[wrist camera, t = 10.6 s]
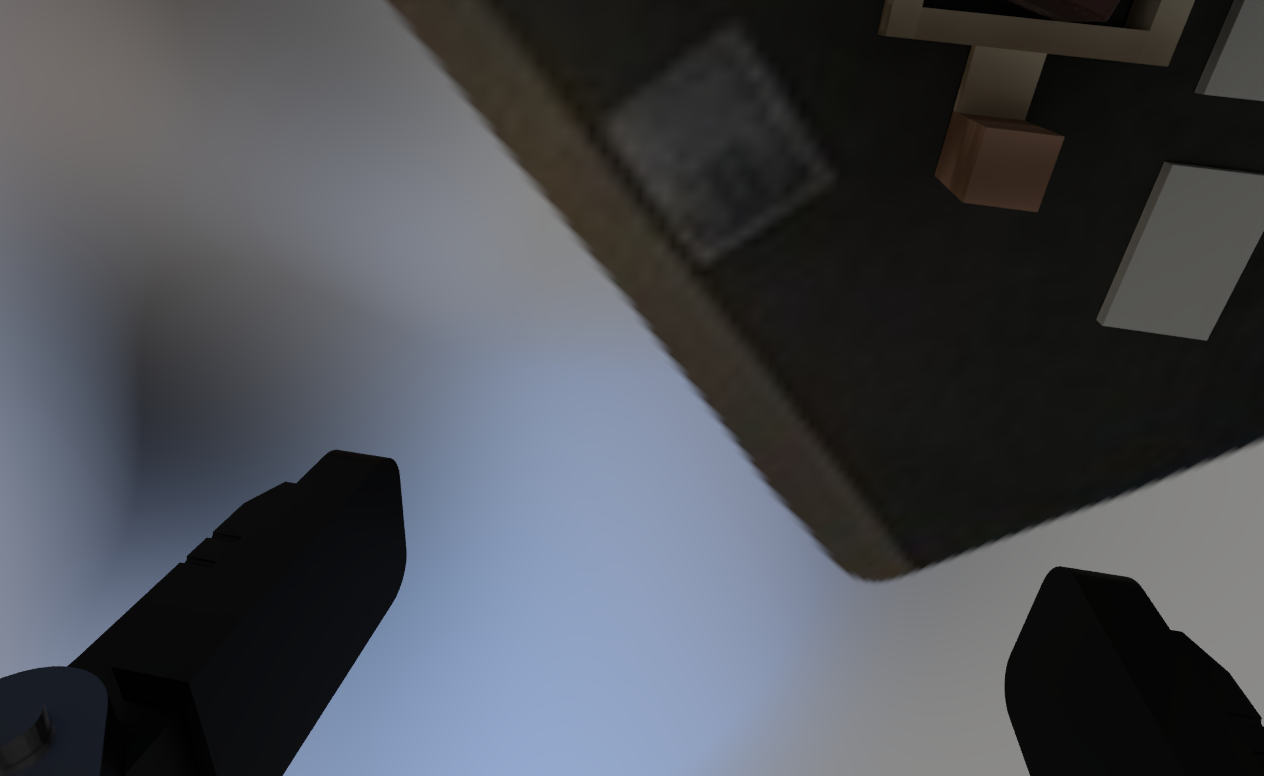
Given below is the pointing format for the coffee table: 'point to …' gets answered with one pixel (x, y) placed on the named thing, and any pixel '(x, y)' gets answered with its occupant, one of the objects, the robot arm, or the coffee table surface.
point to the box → (1064, 9)
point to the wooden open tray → (1020, 87)
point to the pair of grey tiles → (1197, 212)
